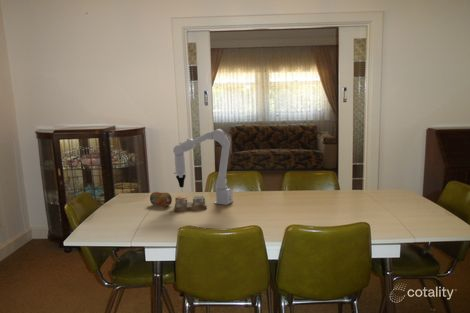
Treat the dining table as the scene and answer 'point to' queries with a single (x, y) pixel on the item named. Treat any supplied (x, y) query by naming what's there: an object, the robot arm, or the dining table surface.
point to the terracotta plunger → (181, 198)
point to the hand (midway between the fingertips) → (181, 187)
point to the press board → (190, 204)
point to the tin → (160, 199)
